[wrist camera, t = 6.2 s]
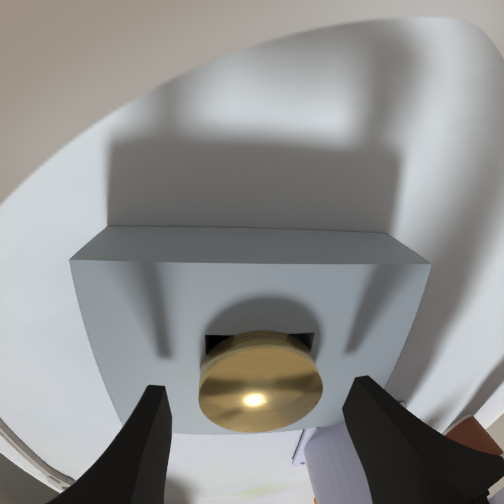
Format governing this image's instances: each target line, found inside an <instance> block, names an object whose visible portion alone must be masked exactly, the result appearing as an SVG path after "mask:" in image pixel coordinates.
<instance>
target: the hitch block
mask: <svg viewBox="0 0 504 504" xmlns="http://www.w3.org/2000/svg"><path fill="white" fill-rule="evenodd" d="M69 262H70V267H71V272H72V277H73V282H74V286H75V291H76V295H77V299H78V303H79V307H80V311H81V315H82V318H83V322H84V325H85V329H86V332H87V336H88V339H89V342H90V345H91V348H92V351H93V354H94V357H95V360H96V363H97V366H98V368H99V371H100V374H101V376H102V379H103V382H104V384H105V387H106V389H107V392H108V394H109V396H110V399H111V401H112V403H113V406H114V408H115V410H116V412H117V415H118V417H119V419H120V421H121V423H122V425H123V426H124V424H125V423H126V421H127V420H128V418H129V417H130V415H131V414H132V412H133V410H134V409H135V407H136V405H137V403H138V402H139V400H140V398H141V396H142V394H143V393H144V391H145V389H146V387H147V386H148V385H161V386H165V387H166V392H167V396H168V401H169V405H170V409H171V413H172V433H183V434H211V435H229V434H257V433H246V432H238V431H232V430H229V429H226V428H223V427H220V426H218V425H216V424H215V423H213V422H211V421H210V420H209V419H208V418H207V417H206V416H205V415H204V414H203V412H202V411H201V409H200V406H199V401H198V397H199V376H200V367H201V363H202V361H203V359H204V357H205V356H206V354H207V353H208V352H209V351H210V350H211V349H210V343H209V335H237V334H240V333H244V332H249V331H257V330H269V331H278V332H282V333H286V334H289V335H291V336H294V337H296V338H297V339H299V340H300V341H302V342H303V343H304V344H305V345H306V346H307V347H308V349H309V350H310V352H311V354H312V357H313V359H314V362H315V364H316V367H317V369H318V372H319V374H320V377H321V380H322V383H323V393H322V396H321V398H320V400H319V402H318V404H317V405H316V407H315V408H314V409H313V410H312V411H311V412H310V413H309V414H307V415H306V416H305V417H303V418H302V419H300V420H299V421H297V422H295V423H293V424H291V425H289V426H286V427H283V428H280V429H277V430H272V431H267V432H258V433H272V432H283V431H293V430H301V429H309V428H316V427H322V426H329V425H334V424H340V423H345V419H344V415H343V411H342V407H343V405H344V402H345V400H346V398H347V395H348V393H349V391H350V388H351V386H352V384H353V381H354V379H355V377H360V376H366V375H369V376H370V377H371V378H372V379H373V380H374V381H375V382H376V383H378V384H379V385H380V386H381V387H382V388H383V389H384V388H385V386H386V384H387V382H388V379H389V377H390V375H391V373H392V371H393V369H394V367H395V365H396V362H397V360H398V358H399V356H400V353H401V351H402V349H403V346H404V344H405V342H406V339H407V337H408V334H409V332H410V329H411V326H412V324H413V321H414V319H415V316H416V313H417V310H418V307H419V305H420V302H421V299H422V296H423V293H424V289H425V286H426V283H427V280H428V276H429V273H430V270H431V266H432V264H431V263H430V262H428V261H427V260H426V259H424V258H423V257H421V256H420V255H418V254H417V253H415V252H414V251H413V250H411V249H410V248H408V247H407V246H405V245H404V244H402V243H401V242H399V241H398V240H396V239H395V238H393V237H392V236H390V235H389V234H387V233H369V232H349V231H327V230H302V229H272V228H234V227H168V226H107V227H106V228H105V229H103V230H102V231H101V232H100V233H99V234H97V235H96V236H95V237H94V238H93V239H92V240H90V241H89V242H88V243H87V244H86V245H85V246H84V247H83V248H81V249H80V250H79V251H78V252H77V253H76V254H75V255H74V256H73V257H71V258H70V259H69Z"/></svg>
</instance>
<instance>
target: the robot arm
mask: <svg viewBox="0 0 504 504" xmlns="http://www.w3.org/2000/svg"><path fill="white" fill-rule="evenodd" d="M406 406H407V405H406V403H405V402H402V403H399V402H398V401H396V400H395V399H394V398H393V397H392V396H391V395H390V394H389V393H387V392H386V391H385V390H384V389H383V388H382V387H381V386H380V385H379V384H378V383H376V382H375V381H374V380H373V379H372V378H371V377H370V376H369V375H366V376H360V377H355V379H354V381H353V384H352V386H351V388H350V391H349V393H348V395H347V398H346V400H345V402H344V405H343V407H342V411H343V415H344V419H345V423H340V424H334V425H329V426H322V427H316V428H309V429H305V430H304V433H303V435H302V438H301V441H300V443H299V446H298V448H297V451H296V453H295V456H294V458H293V461H292V464H293V465H294V466H298V465H305V464H306V465H307V469H308V473H309V476H310V480H311V484H312V488H313V492H314V495H315V499H316V503H317V504H504V487H503V488H502V489H501V490H499V491H498V492H497V493H495V494H494V495H493V496H492V497H490V498H489V499H487V496H488V495H489V491H488V489H489V488H490V487H491V486H492V485H494V484H495V483H496V482H497V481H499V480H500V479H501V478H502V477H503V476H504V459H503V457H502V456H498V455H493V454H489V453H485V452H481V451H478V450H475V449H472V448H470V447H467V446H465V445H462V444H460V443H458V442H456V441H454V440H452V439H450V438H448V437H446V436H444V435H442V434H441V433H439V432H438V431H436V430H434V429H433V428H431V427H430V426H428V425H427V424H425V423H424V422H422V421H421V420H420V419H418V418H417V417H416V416H414V415H413V414H412V413H411V412H409V411H408V410H407V409H406ZM171 439H172V413H171V409H170V405H169V401H168V396H167V392H166V387H165V386H161V385H148V386H147V387H146V389H145V391H144V393H143V394H142V396H141V398H140V400H139V402H138V403H137V405H136V407H135V409H134V410H133V412H132V414H131V415H130V417H129V418H128V420H127V421H126V423H125V424H124V426H123V427H122V429H121V430H120V432H119V433H118V435H117V436H116V437H115V439H114V440H113V441H112V443H111V444H110V445H109V447H108V448H107V449H106V450H105V452H104V453H103V454H102V455H101V456H100V458H99V459H98V460H97V461H96V462H95V463H94V464H93V465H92V466H91V467H90V468H89V469H88V470H87V471H86V472H85V473H84V474H83V475H82V476H81V477H80V478H79V479H78V480H77V481H76V482H74V483H73V484H72V485H71V486H70V487H68V488H67V489H66V490H64V491H63V492H62V493H61V494H60V495H58V496H57V497H55V498H54V499H52V500H51V501H49V502H47V503H46V504H164V487H165V480H166V473H167V466H168V459H169V453H170V446H171Z"/></svg>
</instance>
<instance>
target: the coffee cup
mask: <svg viewBox="0 0 504 504" xmlns="http://www.w3.org/2000/svg"><path fill="white" fill-rule="evenodd" d="M442 435H444V436H446V437H448V438H450V439H452V440H454V441H456V442H458V443H460V444H462V445H465V446H467V447H470V448H472V449H475V450H478V451H481V452H485V453H489V454H493V455H498V456H502V457H503V459H504V452H503V451H502V450H501V448H500V447H499V446H498V445H497V444H496V442H495V441H494V440H493V439H492V438H491V436H490V435H489V434H488V433H487V432H486V430H485V429H484V428H483V427H482V426H481V425H480V423H479V422H478V421H477V420H476V419H475V418H474V416H473V415H472V414H471V413H470V414H466V415H465V416H463V417H461V418H460V419H458V420H457V421H456V422H454V423H453V424H452V425H451V426H450V427H448V428H447V429H446V430H445V431H444V432H443V433H442Z"/></svg>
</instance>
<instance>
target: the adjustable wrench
mask: <svg viewBox="0 0 504 504" xmlns="http://www.w3.org/2000/svg"><path fill="white" fill-rule="evenodd" d="M0 435H1V436H2V437H3V438H4V439H5V440H6V441H7V442H8V443H9V444H10V445H11V446H12V447H13V448H14V449H15V450H16V451H18V452H19V453H20V454H21V455H22V456H23V457H24V458H25V459H26V460H28V461H29V462H30V463H31V464H32V465H34V466H35V467H36V468H37V469H38V470H39V471H41V472H42V473H43V475H44V476H45V477H46V478H47V479H48V481H49V482H50V483H51V484H53V485H54V486H55V487H57V488H59V489H61V490H63V491H64V490H66V489H67V488H68V487H70V486H71V485H72V484H73V483H74V482H76V481H75V480H73V479H71V478H68V477H66V476H64V475H63V474H61V473H59V472H57V471H56V470H54V469H53V468H51V467H50V466H49V465H47V464H46V463H45V462H44V461H43V460H42V459H40V458H39V457H38V456H37V455H36V454H35V453H34V452H33V451H32V450H31V449H29V448H28V447H27V446H26V445H25V444H24V443H23V442H22V441H21V440H20V439H19V438H18V437H17V436H16V435H15V434H14V433H13V432H12V431H11V430H10V429H9V428H8V426H7V425H6V424H5V423H4V422H3V421H2V420H1V419H0Z"/></svg>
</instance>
